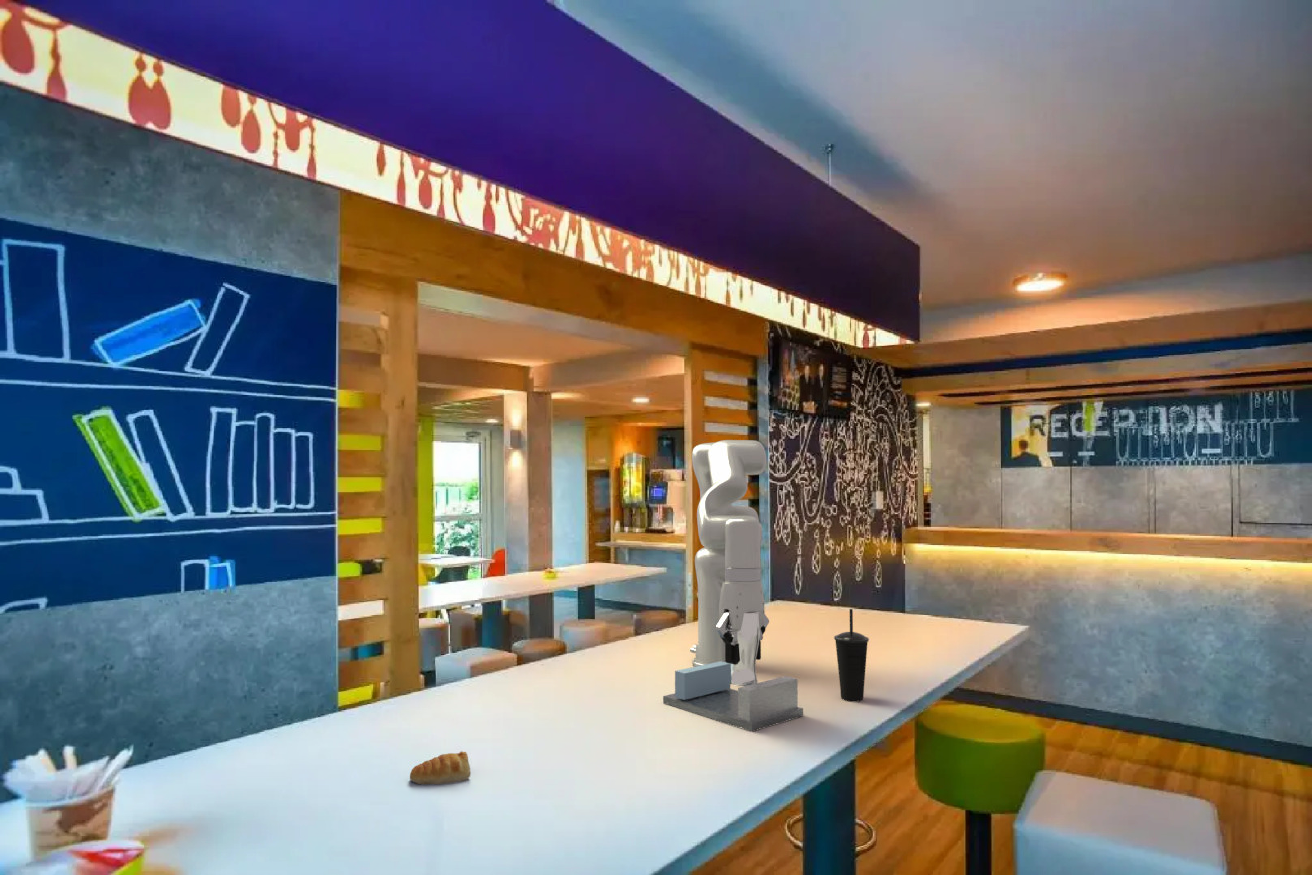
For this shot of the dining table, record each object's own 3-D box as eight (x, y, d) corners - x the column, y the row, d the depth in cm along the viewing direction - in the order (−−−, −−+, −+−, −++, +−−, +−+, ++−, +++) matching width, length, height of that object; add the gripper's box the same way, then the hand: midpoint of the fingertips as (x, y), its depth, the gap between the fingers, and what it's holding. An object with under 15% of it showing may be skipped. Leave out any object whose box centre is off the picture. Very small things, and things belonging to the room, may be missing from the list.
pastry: (413, 791, 119) (413, 766, 119) (406, 776, 125) (407, 753, 125) (473, 781, 123) (473, 757, 123) (464, 767, 129) (464, 744, 130)
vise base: (663, 702, 168) (663, 668, 168) (714, 690, 178) (714, 658, 179) (751, 731, 148) (751, 692, 149) (803, 715, 159) (802, 679, 159)
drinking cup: (866, 694, 175) (865, 606, 177) (872, 703, 168) (871, 612, 169) (832, 693, 176) (831, 606, 178) (837, 702, 169) (836, 611, 170)
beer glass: (722, 684, 159) (722, 612, 160) (732, 677, 165) (732, 607, 167) (755, 688, 156) (754, 614, 158) (763, 680, 163) (763, 609, 164)
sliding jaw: (675, 696, 166) (675, 670, 167) (720, 685, 176) (720, 661, 176) (684, 699, 164) (684, 673, 164) (730, 688, 173) (730, 663, 174)
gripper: (756, 571, 171) (756, 652, 170) (701, 576, 160) (701, 663, 159) (782, 574, 166) (783, 658, 164) (727, 580, 154) (727, 670, 153)
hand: (743, 660), depth 161 cm, fingers closed on beer glass, 6 cm apart
